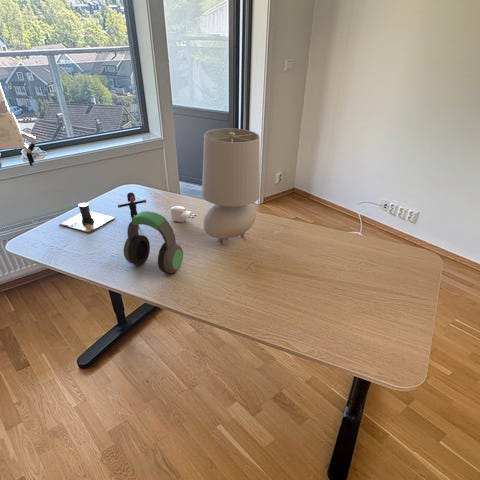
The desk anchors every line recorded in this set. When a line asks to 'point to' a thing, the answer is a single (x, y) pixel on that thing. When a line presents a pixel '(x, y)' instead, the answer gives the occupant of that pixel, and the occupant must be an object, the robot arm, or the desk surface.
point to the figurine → (132, 204)
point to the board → (88, 228)
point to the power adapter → (180, 214)
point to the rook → (85, 213)
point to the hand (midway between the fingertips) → (16, 165)
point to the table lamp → (230, 181)
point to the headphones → (140, 246)
